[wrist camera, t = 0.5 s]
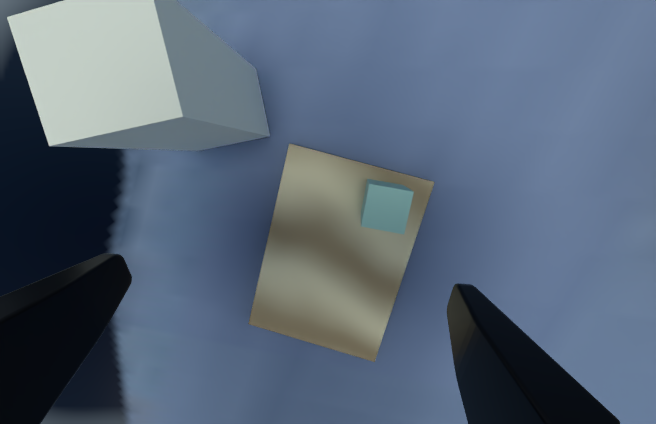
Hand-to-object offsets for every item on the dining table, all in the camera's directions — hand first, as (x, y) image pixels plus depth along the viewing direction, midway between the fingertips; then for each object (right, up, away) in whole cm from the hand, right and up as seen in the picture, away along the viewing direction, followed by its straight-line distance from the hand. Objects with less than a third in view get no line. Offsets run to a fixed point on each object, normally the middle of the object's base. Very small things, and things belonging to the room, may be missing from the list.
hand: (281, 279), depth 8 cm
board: (+2, -1, +14) cm, 14 cm away
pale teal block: (+5, +3, +12) cm, 13 cm away
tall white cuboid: (-6, +9, +13) cm, 17 cm away
